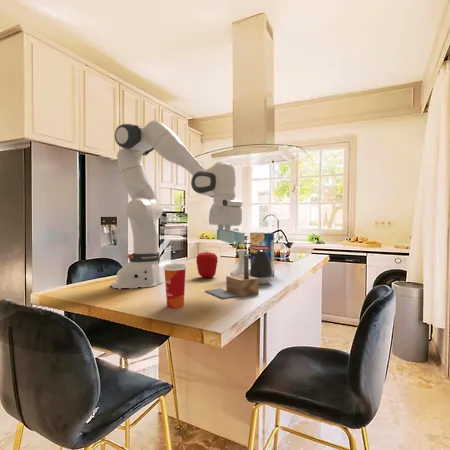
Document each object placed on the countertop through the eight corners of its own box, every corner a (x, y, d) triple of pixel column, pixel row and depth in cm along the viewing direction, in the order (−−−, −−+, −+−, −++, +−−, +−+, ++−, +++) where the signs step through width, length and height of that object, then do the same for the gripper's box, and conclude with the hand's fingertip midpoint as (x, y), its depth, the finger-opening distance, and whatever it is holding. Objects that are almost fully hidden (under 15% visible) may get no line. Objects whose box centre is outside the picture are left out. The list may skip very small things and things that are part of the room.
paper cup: (165, 303, 110) (164, 263, 110) (187, 302, 111) (186, 262, 111) (162, 309, 103) (162, 266, 102) (186, 308, 103) (185, 266, 103)
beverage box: (271, 277, 158) (270, 233, 157) (250, 275, 162) (249, 233, 162) (274, 274, 164) (274, 232, 164) (254, 273, 168) (254, 232, 168)
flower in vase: (244, 274, 166) (243, 227, 165) (257, 277, 156) (257, 227, 156) (223, 277, 159) (222, 227, 158) (235, 280, 149) (235, 228, 149)
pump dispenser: (245, 282, 145) (245, 249, 145) (265, 280, 150) (264, 248, 149) (256, 286, 136) (256, 251, 136) (276, 284, 140) (276, 250, 140)
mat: (222, 299, 115) (222, 297, 115) (205, 291, 127) (205, 290, 127) (238, 296, 119) (238, 295, 119) (220, 289, 131) (220, 288, 131)
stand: (241, 296, 119) (241, 256, 118) (226, 290, 128) (226, 254, 128) (258, 293, 123) (258, 255, 123) (242, 288, 132) (242, 253, 132)
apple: (192, 277, 158) (192, 250, 157) (206, 275, 165) (206, 249, 165) (207, 280, 151) (207, 252, 150) (221, 277, 158) (221, 250, 158)
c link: (216, 239, 127) (217, 229, 127) (229, 238, 131) (229, 229, 130) (231, 243, 118) (231, 233, 118) (244, 243, 121) (244, 232, 121)
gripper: (205, 203, 135) (205, 235, 135) (231, 201, 118) (230, 238, 118) (218, 203, 138) (217, 235, 139) (244, 202, 121) (244, 237, 121)
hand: (223, 236), depth 128 cm, fingers closed on c link, 2 cm apart
